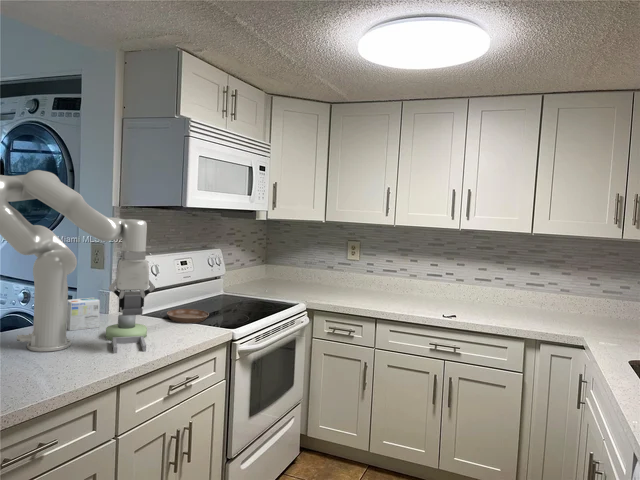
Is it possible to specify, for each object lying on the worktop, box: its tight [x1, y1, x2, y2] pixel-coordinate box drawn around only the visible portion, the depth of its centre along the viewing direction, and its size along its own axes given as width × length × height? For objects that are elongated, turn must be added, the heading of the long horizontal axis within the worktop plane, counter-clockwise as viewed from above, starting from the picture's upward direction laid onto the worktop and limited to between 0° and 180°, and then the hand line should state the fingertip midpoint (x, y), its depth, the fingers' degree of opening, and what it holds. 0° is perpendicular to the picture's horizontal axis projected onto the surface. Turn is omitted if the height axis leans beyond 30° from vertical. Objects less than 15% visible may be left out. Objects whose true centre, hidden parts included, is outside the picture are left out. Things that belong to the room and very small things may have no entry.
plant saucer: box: [166, 308, 210, 324], centre depth 202 cm, size 18×18×3 cm
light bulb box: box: [67, 297, 101, 332], centre depth 178 cm, size 11×7×11 cm, turn 134°
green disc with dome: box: [105, 314, 148, 354], centre depth 165 cm, size 14×26×7 cm, turn 26°
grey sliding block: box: [121, 290, 144, 316], centre depth 157 cm, size 6×10×6 cm, turn 26°
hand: (131, 308), depth 158 cm, fingers closed on grey sliding block, 5 cm apart
